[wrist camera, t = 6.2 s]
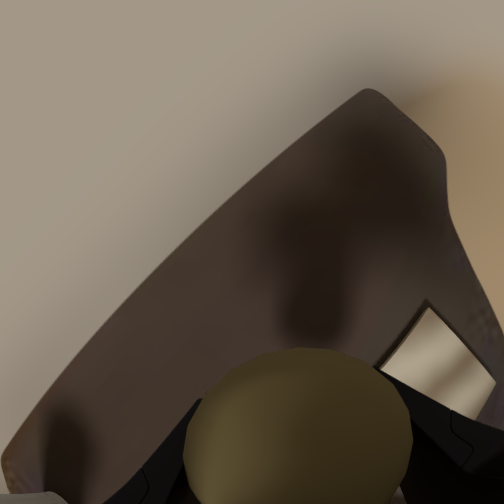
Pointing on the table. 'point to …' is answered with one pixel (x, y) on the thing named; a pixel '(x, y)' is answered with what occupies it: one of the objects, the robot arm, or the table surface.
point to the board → (440, 366)
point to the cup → (32, 498)
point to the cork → (299, 433)
